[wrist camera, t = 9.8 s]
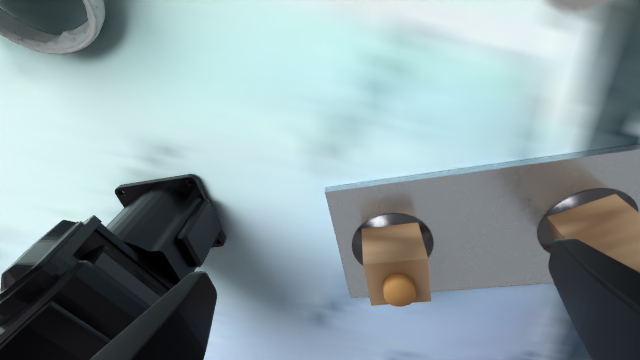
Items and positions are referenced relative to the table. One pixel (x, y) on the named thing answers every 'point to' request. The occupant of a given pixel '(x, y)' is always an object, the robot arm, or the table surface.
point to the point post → (602, 228)
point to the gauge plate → (481, 214)
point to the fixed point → (396, 265)
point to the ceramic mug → (51, 43)
